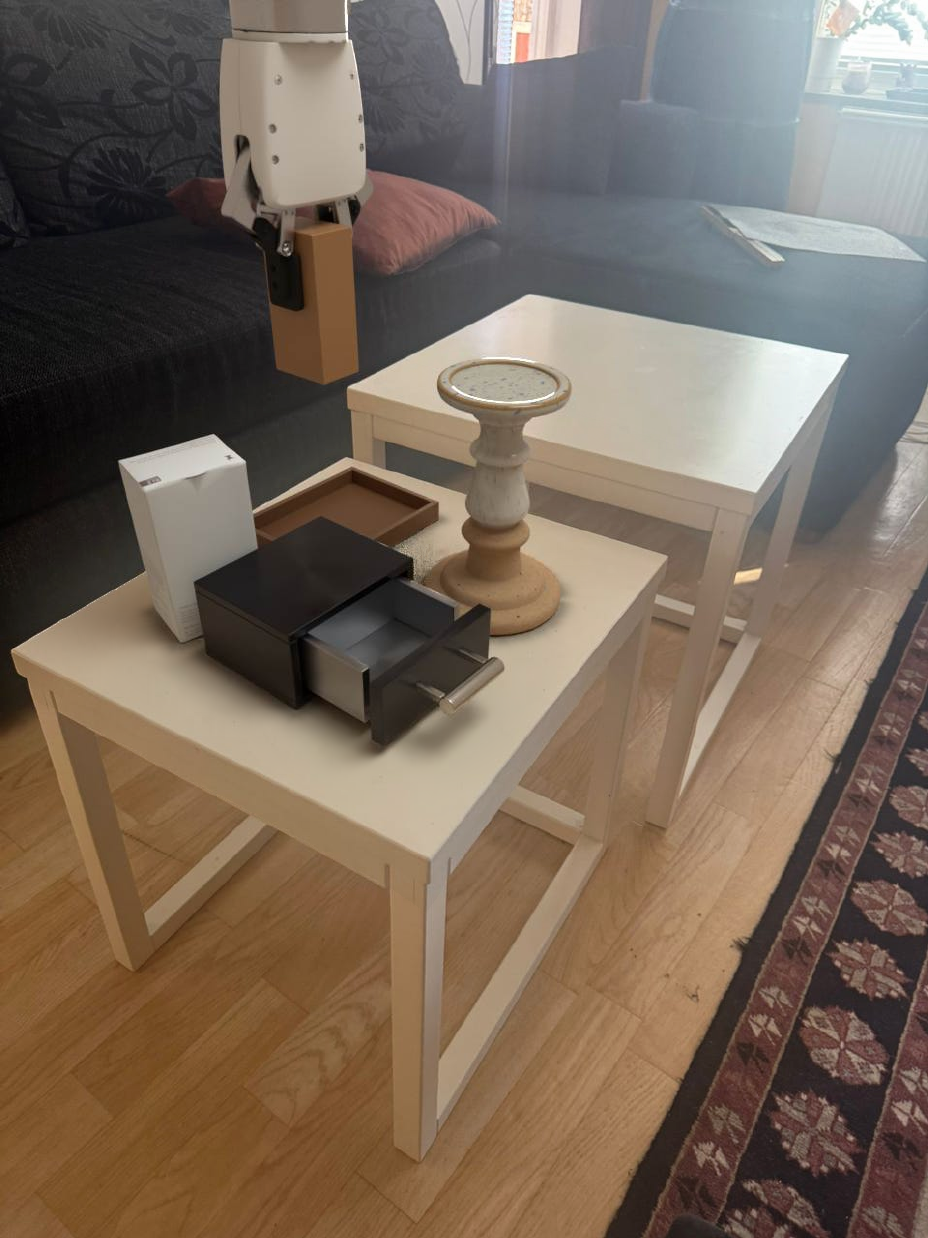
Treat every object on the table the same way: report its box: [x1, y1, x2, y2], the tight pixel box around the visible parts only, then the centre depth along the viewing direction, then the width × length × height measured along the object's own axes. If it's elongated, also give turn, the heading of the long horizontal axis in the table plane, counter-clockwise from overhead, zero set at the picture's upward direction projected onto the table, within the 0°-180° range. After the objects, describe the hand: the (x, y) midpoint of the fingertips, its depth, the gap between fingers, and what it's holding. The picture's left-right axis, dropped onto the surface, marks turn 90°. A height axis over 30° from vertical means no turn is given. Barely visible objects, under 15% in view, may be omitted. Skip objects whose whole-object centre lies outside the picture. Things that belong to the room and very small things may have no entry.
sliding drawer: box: [297, 575, 505, 748], centre depth 65 cm, size 13×12×5 cm
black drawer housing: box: [194, 516, 415, 711], centre depth 70 cm, size 11×14×7 cm
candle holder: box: [423, 357, 573, 636], centre depth 73 cm, size 12×12×20 cm
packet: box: [262, 215, 360, 386], centre depth 67 cm, size 4×6×11 cm
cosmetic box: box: [117, 433, 258, 644], centre depth 71 cm, size 8×6×15 cm
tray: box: [253, 466, 440, 548], centre depth 86 cm, size 16×12×2 cm
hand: (310, 297), depth 67 cm, fingers closed on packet, 4 cm apart
